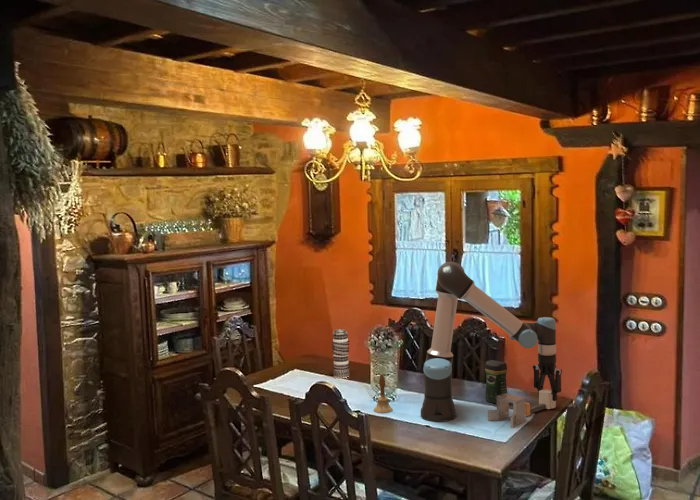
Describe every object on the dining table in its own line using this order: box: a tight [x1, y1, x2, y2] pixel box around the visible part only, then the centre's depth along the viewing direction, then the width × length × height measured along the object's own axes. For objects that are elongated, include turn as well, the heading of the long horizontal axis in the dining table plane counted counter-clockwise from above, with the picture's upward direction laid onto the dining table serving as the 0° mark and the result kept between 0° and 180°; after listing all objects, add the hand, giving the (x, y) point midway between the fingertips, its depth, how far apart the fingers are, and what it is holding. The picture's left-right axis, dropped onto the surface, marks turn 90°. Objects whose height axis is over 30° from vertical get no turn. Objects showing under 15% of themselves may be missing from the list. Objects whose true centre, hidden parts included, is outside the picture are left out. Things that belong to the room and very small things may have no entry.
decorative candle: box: [331, 328, 350, 380], centre depth 351 cm, size 9×9×25 cm
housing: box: [487, 392, 527, 429], centre depth 274 cm, size 10×13×10 cm
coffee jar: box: [484, 359, 508, 405], centre depth 301 cm, size 10×8×19 cm
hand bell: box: [373, 373, 393, 414], centre depth 293 cm, size 8×8×16 cm
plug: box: [525, 388, 552, 417], centre depth 286 cm, size 19×5×7 cm, turn 127°
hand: (547, 406), depth 291 cm, fingers closed on plug, 5 cm apart
